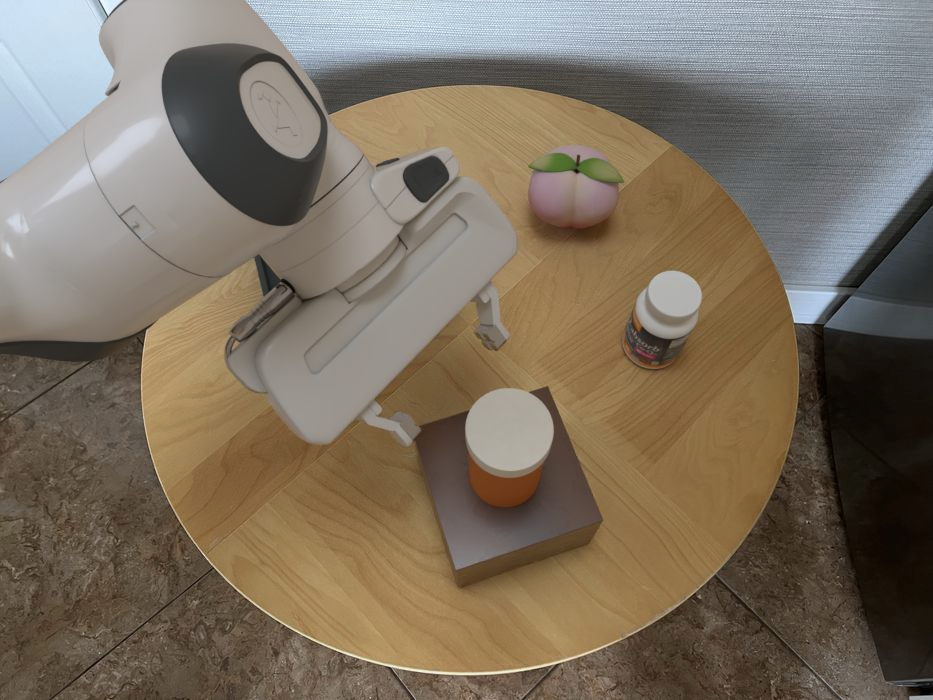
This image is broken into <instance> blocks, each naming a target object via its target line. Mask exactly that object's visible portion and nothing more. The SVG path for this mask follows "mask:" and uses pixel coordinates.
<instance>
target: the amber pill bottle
mask: <svg viewBox="0 0 933 700" xmlns="http://www.w3.org/2000/svg"><path fill="white" fill-rule="evenodd" d="M529 392H530V391H526V390H523V389H520V388H514V387H503V388H498V389H494V390H491V391H489V392H487V393H484V395H482V396H480V397H479V398H478V399H477V400H476V401H475V402H474V403H473V404H472V406H471V408H470V409H469V410H470V411H469V413H468V416H467V419H466V424H465V439H466V445H467V449H468V451H469V477H470V482H471V485H472V487H473V489H474V491H475V492H476V494H477V495H478V496H479V497H480V498H481V499H482V500H484V501H485V502H487V503H488V504H491V505H493V506H497V507H506V508H507V507H514V506H517V505H520V504H522V503H523V502H525V501H526V500H528V499H529V498H530V497H531V496H532V495H533V493H534V492H535V490H536V488H537V486H538V483H539V479H540V475H541V471H542V467H543V464H544V461H545V459H546V457H547V456H548V454H549V451H550V448H551V444H552V441H553V435H554V425H553V420H552V417H551V415H550V413H549V411H548V409H547V408H546V406H545V405H544V404H543V403H542V402H541V401H540V400H539V399H538V398H537V397H535V396H534V395H532V394H530V393H529Z"/></svg>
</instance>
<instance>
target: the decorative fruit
mask: <svg viewBox="0 0 933 700" xmlns="http://www.w3.org/2000/svg"><path fill="white" fill-rule="evenodd" d="M527 168H528V169H531V170H532V172H531V176H530V178H529V183H528V188H527V189H528V190H527V200H528V203H529V207H530V209H531V210H532V212H533V213H534V214H535V215H536V216H537V217H538V218H539V219H540V220H542V221H543V222H546V223H547V224H549V225H551V226H554V227H557V228H568V227H569V228H570V227H571V228H574V229H585V228H589V227H592V226H595V225H598V224H600V223H601V222H603V221H605V220H607V219H608V218H609V217H610V216H611V215H612V214H613V213H614V211H615V210H616V208H617V206H618V203H619V197H620V184H624V183H625V180H624V177H623V176H622V174H621V172H619V170H618V169H617V168H616V167H615V166H613V164H612V163H611V161H610V159H609V158H608V157H607V156H606V155H605V154H604V153H602V152H601V151H600V150H598V149H596V148H594V147H591V146H586V145H583V144H582V145H581V144H565V145H560V146H558V147H554V148H552V149H551V150H549V151H548V152H546V153H545V154H544V155H542V156H540V157H538V158H536V159H535V160H534V161H532V162H531V163H530V164H529V165H528V166H527Z"/></svg>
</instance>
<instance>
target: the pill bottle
mask: <svg viewBox="0 0 933 700" xmlns="http://www.w3.org/2000/svg"><path fill="white" fill-rule="evenodd" d="M702 301H703V293H702V289H701V287H700V285H699V284H698V282H697V281H696V280H695V279H694V278H693V277H691V276H690V275H689V274H687V273H686V272H682V271H678V270H665V271H662V272H659V273H658V274H656V275H655V276H654V277H652V278H651V280H650V281H649V284H648V285H647V287H645V288H644V289H643V290H642V291H641V292H640V293H639V295H638V296H637V298H636V300H635V304H634V306H633V308H632V310H631V313H630V315H629V318H628V320H627V323H626V325H625V328H624V330H623V334H622V338H621V340H622V341H621V342H622V347H623V350H624V353H625V354H626V356H627V357H628V358H629V359H630V361H631V362H633V363H634V364H635V365H637V366H639V367H642V368H645V369H649V370H650V369H651V370H659V369H663V368H666V367H668V366H670V365H671V364H672V363H674V362H675V360H676V359H677V358H678V357H679V356H680V354H681V352H682V349H683V348H684V347H685V345H686V343H687V340H688V339H689V338H690V336H691V334H692V332H693V330H694V328H695V327H696V325H697V322H698V320H699V308H700V306H701V304H702Z"/></svg>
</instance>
